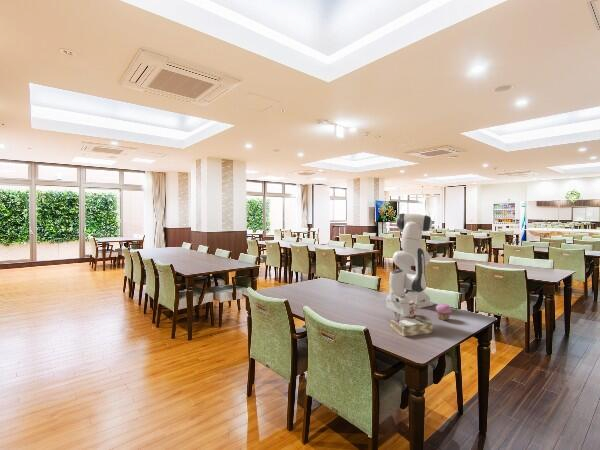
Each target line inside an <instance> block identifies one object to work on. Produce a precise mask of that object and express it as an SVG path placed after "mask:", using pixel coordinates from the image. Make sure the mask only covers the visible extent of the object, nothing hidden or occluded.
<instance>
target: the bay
mask: <svg viewBox="0 0 600 450" xmlns="http://www.w3.org/2000/svg"><path fill="white" fill-rule="evenodd" d="M414 319H415V320H417V321H419V322H421V323H420V324H413V325H405V326H402V325H400V324H399V322H397V321H395V320H393V319H390V320H389V328H390V329H391V330H392V331H394V332H396V333H397V334H399V335H401V336H402V337H411V336H416V335H424V334H432V333H433V322H432V321H430V322H429V321H428V322H427V321H426V320H424V319H422V318H420V317H418V316H416V317H414Z"/></svg>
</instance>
